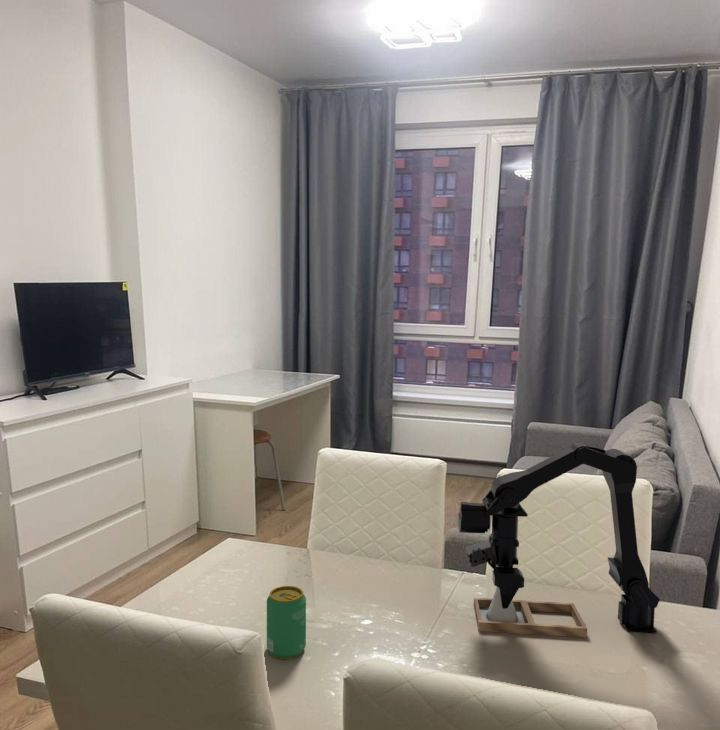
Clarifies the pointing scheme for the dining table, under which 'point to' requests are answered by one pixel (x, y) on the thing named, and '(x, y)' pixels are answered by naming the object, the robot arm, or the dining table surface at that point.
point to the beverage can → (286, 622)
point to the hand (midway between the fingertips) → (502, 600)
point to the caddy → (530, 619)
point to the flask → (501, 610)
